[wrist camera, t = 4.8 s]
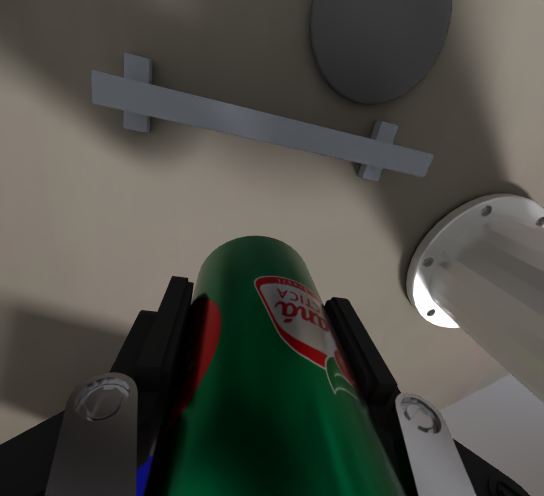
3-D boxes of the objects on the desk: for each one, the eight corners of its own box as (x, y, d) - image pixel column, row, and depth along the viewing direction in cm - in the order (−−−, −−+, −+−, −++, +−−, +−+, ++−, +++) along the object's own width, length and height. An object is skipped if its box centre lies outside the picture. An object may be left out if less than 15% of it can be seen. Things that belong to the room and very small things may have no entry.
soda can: (325, 289, 14) (607, 865, 3) (241, 338, 15) (247, 934, 4) (268, 208, 12) (530, 1045, 1) (174, 270, 13) (-166, 1114, 2)
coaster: (469, -41, 16) (478, -47, 15) (409, 117, 19) (415, 117, 18) (335, -103, 14) (339, -112, 13) (294, 84, 17) (296, 84, 16)
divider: (392, 124, 19) (445, 130, 14) (372, 179, 20) (415, 199, 16) (128, 54, 15) (89, 32, 11) (127, 127, 16) (92, 134, 12)
